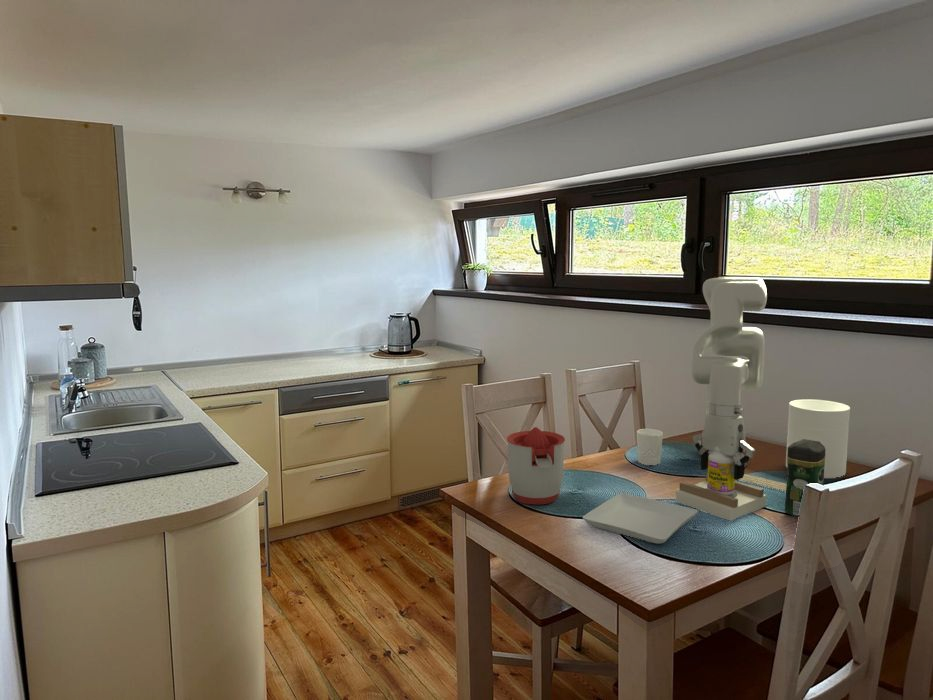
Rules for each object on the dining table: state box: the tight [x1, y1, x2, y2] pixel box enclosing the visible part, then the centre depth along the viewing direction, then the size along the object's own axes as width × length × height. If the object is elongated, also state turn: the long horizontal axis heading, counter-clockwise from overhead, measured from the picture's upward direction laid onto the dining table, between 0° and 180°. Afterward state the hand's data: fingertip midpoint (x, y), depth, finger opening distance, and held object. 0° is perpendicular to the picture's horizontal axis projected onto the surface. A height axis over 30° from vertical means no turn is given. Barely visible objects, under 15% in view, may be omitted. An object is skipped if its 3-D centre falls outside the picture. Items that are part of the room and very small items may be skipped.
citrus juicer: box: [506, 426, 566, 505], centre depth 172 cm, size 16×17×20 cm
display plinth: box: [675, 472, 767, 522], centre depth 167 cm, size 16×16×5 cm
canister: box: [785, 398, 851, 479], centre depth 191 cm, size 16×16×20 cm
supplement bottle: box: [707, 447, 737, 495], centre depth 166 cm, size 7×7×13 cm
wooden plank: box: [737, 473, 787, 491], centre depth 183 cm, size 24×7×2 cm, turn 41°
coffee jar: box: [784, 439, 825, 519], centre depth 159 cm, size 10×8×19 cm
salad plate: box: [582, 492, 699, 544], centre depth 155 cm, size 21×21×3 cm
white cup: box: [636, 428, 664, 466], centre depth 201 cm, size 8×8×10 cm
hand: (721, 473), depth 166 cm, fingers open, 9 cm apart
